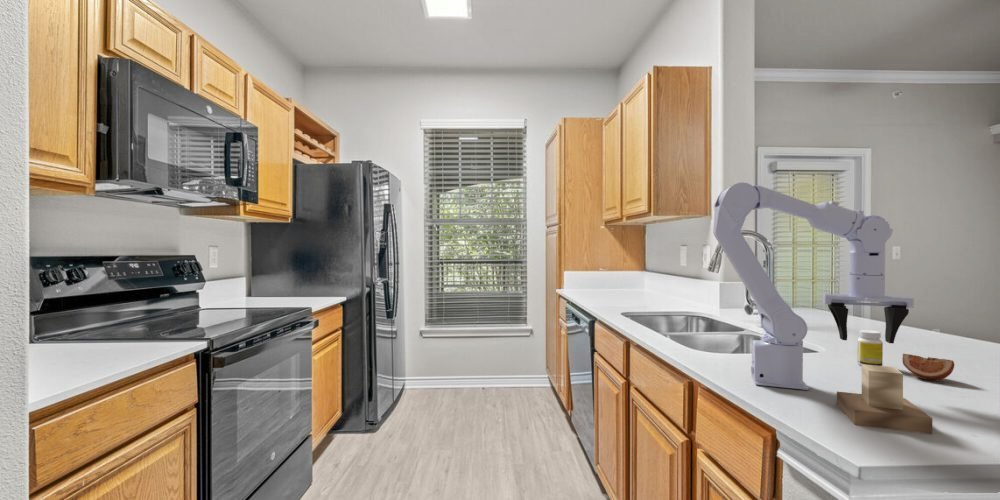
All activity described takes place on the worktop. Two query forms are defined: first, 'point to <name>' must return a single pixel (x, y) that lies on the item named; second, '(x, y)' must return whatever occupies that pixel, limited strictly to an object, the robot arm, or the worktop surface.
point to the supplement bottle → (870, 348)
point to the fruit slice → (928, 367)
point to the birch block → (882, 386)
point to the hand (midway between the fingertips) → (866, 340)
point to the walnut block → (884, 414)
